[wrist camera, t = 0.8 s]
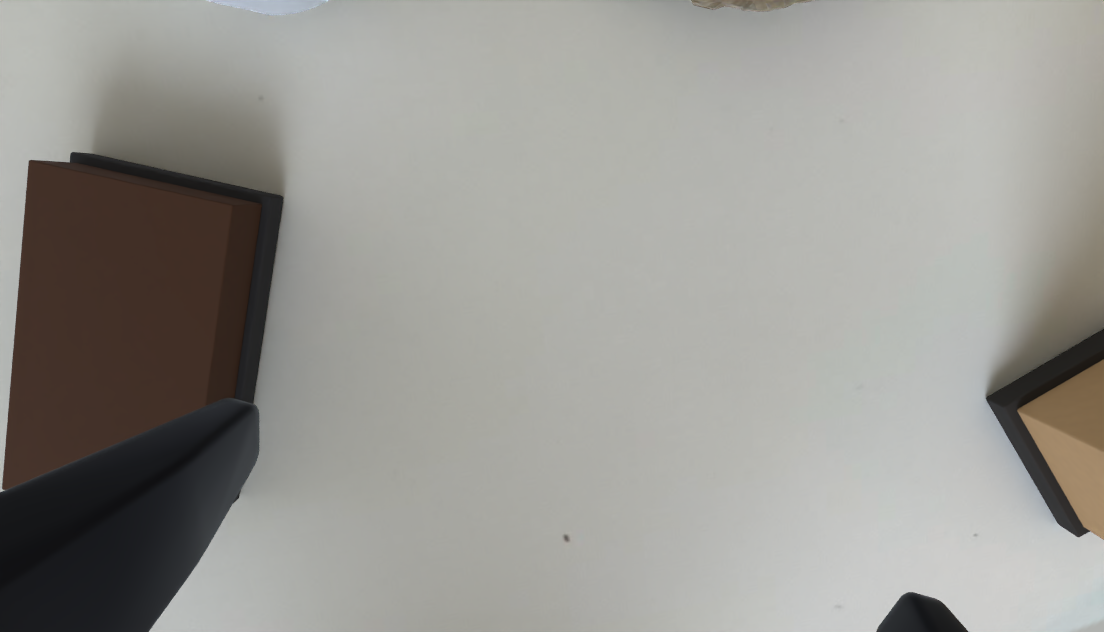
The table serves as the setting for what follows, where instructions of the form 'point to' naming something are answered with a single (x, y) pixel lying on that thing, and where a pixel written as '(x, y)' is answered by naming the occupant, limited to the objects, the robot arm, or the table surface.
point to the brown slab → (131, 305)
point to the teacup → (272, 5)
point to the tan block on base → (1062, 432)
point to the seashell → (747, 4)
